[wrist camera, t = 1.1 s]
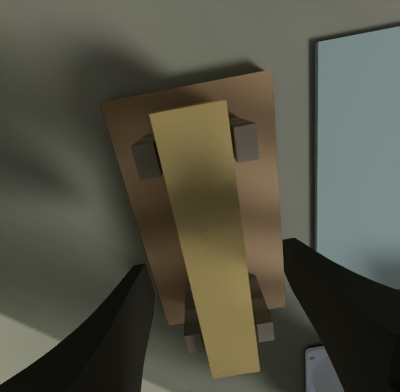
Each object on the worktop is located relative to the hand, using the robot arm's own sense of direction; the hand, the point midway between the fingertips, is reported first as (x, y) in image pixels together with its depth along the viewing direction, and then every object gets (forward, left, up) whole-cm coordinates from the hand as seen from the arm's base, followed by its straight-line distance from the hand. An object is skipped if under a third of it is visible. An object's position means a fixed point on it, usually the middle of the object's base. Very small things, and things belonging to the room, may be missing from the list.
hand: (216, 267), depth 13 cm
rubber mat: (0, -14, -6) cm, 15 cm away
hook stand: (0, 0, -6) cm, 6 cm away
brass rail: (0, 0, -1) cm, 1 cm away
